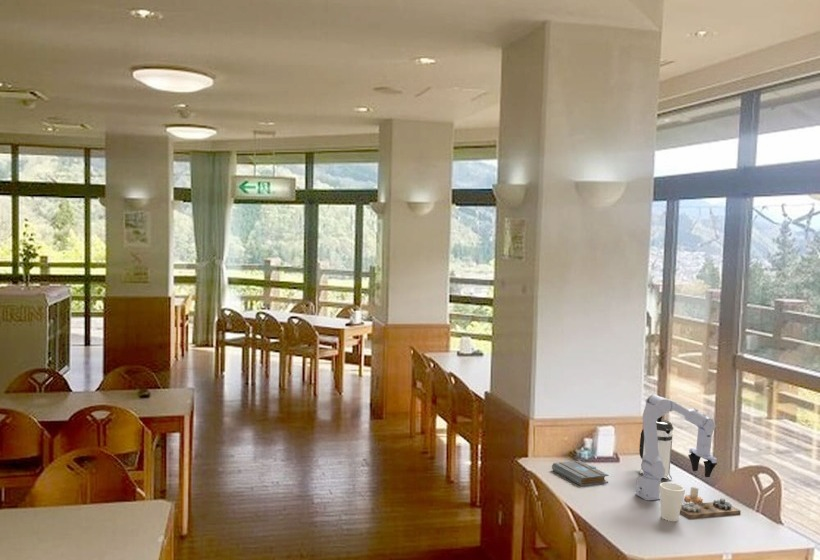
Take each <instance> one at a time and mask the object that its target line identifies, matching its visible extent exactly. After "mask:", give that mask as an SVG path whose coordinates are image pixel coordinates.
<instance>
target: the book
mask: <svg viewBox="0 0 820 560" xmlns="http://www.w3.org/2000/svg"><path fill="white" fill-rule="evenodd" d="M551 469H552V471H553V472H555V473H557V474H558V475H561V476H562V477H564V478H566V479H567V480H569V481H571V482H572V483H575V484H577V485H578V486H580V487H585V486H591V485H593V486H594V485H601V484H602V485H603V484H608V483H609V481H607V480H606V479H605V477H609V474H607V473H605V472H603V471H602V470H599V469H597V467H596V466H594V465H590V464H587V463H585V462H583V461H581V460H573V461H562V462H561V461H560V462H559V461H558V462H553V463H552V465H551Z"/></svg>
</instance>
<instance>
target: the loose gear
mask: <svg viewBox="0 0 820 560" xmlns="http://www.w3.org/2000/svg"><path fill="white" fill-rule="evenodd" d="M698 495H699V488H697V487H694V486H693V487H690V494H686V495H684V500H685V501H686V503H687V502H689V501H692V502H694V504H695V503H696V504H697V503H703V498H702V497H701V496H698Z"/></svg>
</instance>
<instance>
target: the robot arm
mask: <svg viewBox="0 0 820 560" xmlns="http://www.w3.org/2000/svg"><path fill="white" fill-rule="evenodd" d="M673 411H674V412H676V413H678V414H680V415H682V416H684V420H686V421H687V422H689V423H690V424H692V425H694V426H696V427H697V438H696V439H697V440H696V446H695V447H696V448H689V451H688V453H689V454H688V456H687V457H688V458H689V460H690V463H691V469H692V472H697V471H698V469H699V463H700V460H701V458H702V459H705V460H703V465H704V477H705V478H710V477H711V475H712V472H713V471H714V468H715V467H716V465H717V464H718V462H717V461H718V458H716V457H715V456H714V455H712V453H711V447H712V438H713V434H714V430H715V429H716V427H717V425H716V423H715V421H714V419H713V418H711V417H708V416H707V415H706V414H705V413H701V412H699V410H698V409H696V408H689V409H687V408H686V407H684V406H682V405H681V404H679V403H677V402H676V401H674V400H672V399H669V398H667V397H663V396H659V395H658V394H656V393H654V394H651V395H649V396H648V397H647V398H646V399H645V406H644V410H643V412H642V424H643V425H642V426H643V427H642V429H644V441H645V453H646V454H645V455H644V456H643V457H642V459H641V464H640V469H641V468H642V469H641V471H642V470H643V471H642V474H643V475H641V476H640V477H639V476H638V478H637V480H636V488H635V489H636V490H635V492H634V494H635V495H636V496H638V497H640V498H641V499H643V500H644V501H653V500H654V501H655V500H657V501H658V500H660V491H659V486H660V484H661V483H662V479H663V478H664V477H663V476H664V474H665V468H664V466H663V463H662V460H661V458H660V457H659V451H658V438H657V425H656V420H657V419H658V418H660V417H661V416H662V417H663V416H664V415H666V414H668V413H669V412H673ZM662 477H663V478H662Z"/></svg>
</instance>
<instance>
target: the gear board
mask: <svg viewBox="0 0 820 560" xmlns="http://www.w3.org/2000/svg"><path fill="white" fill-rule="evenodd" d="M694 504H695V503H694ZM695 505H699V507H701V508H700V512H696V513H693V512H691V511H690V512H688V511H687V510H683V508H682V505H681V509H680V514H681V515H682V516H683V517H685V518H687V519H689V520H690V519H700V518H703V519H704V518H711V517H713V518H714V517H723V516H733V515H732V514H735V515H741V510H740V508H737V507H735V506H731V509H730V510H729V509H727V510H725V509H719V508H718V507H717V508H716V507H715V506H713V501H711V502H710V501H709V502H702V503H697V504H695ZM680 514H679V515H680Z"/></svg>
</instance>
